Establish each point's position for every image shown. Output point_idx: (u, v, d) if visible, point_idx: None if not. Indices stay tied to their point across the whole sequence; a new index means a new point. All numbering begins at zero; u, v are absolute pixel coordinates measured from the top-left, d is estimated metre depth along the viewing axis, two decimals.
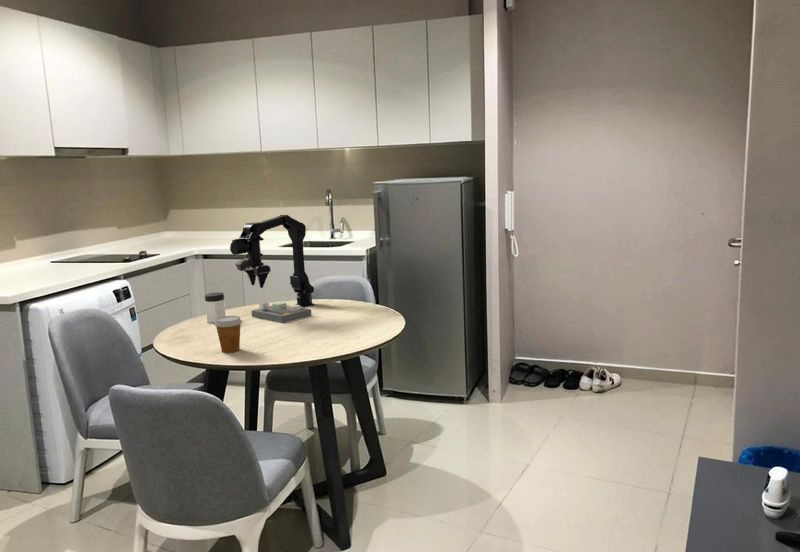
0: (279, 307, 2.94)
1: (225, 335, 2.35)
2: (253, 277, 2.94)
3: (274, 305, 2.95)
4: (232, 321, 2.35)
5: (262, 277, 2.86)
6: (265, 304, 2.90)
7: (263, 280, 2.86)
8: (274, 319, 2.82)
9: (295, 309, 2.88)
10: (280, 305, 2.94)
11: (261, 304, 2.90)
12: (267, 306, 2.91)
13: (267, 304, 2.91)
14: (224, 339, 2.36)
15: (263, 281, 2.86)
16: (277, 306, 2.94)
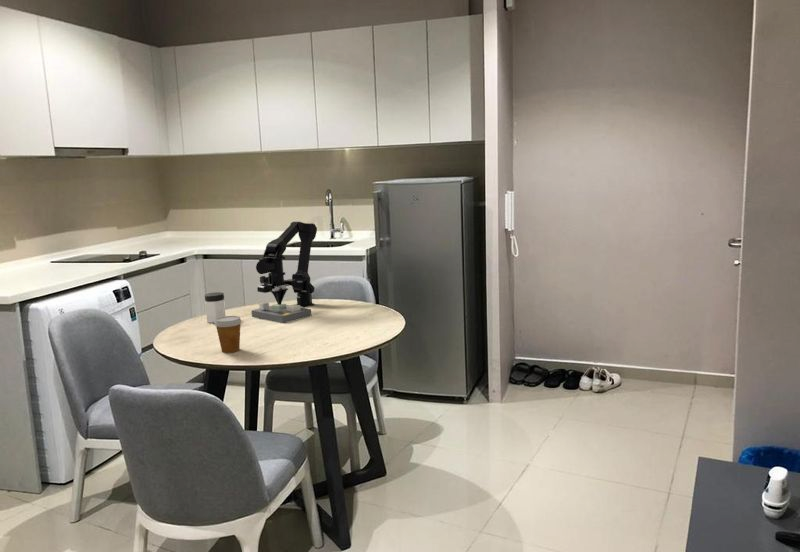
0: (279, 308, 2.94)
1: (225, 335, 2.35)
2: None
3: (274, 306, 2.95)
4: (232, 321, 2.35)
5: (276, 294, 2.94)
6: (265, 304, 2.90)
7: (277, 298, 2.94)
8: (274, 319, 2.82)
9: (295, 309, 2.88)
10: (280, 306, 2.94)
11: (261, 304, 2.90)
12: (267, 306, 2.91)
13: (267, 304, 2.91)
14: (224, 339, 2.36)
15: (277, 299, 2.95)
16: (277, 307, 2.94)
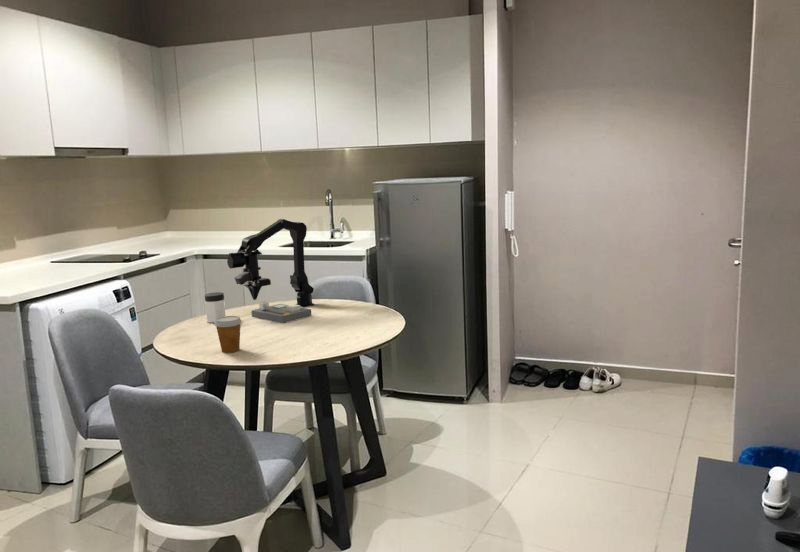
0: None
1: (225, 335, 2.35)
2: None
3: None
4: (232, 321, 2.35)
5: (256, 289, 2.94)
6: (265, 304, 2.90)
7: (257, 292, 2.95)
8: (274, 319, 2.82)
9: (295, 309, 2.88)
10: (280, 308, 2.94)
11: (261, 304, 2.90)
12: (267, 306, 2.91)
13: (267, 304, 2.91)
14: (224, 339, 2.36)
15: (257, 293, 2.95)
16: None
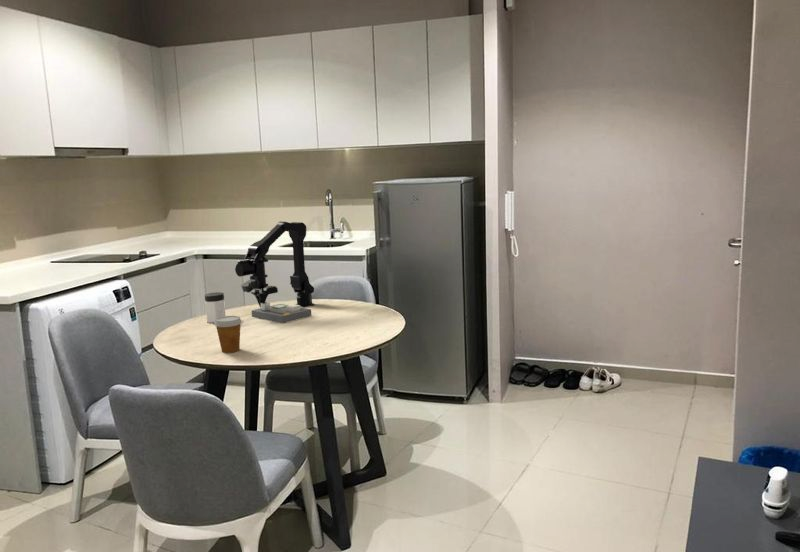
0: None
1: (225, 335, 2.35)
2: None
3: None
4: (232, 321, 2.35)
5: (263, 297, 2.92)
6: (266, 304, 2.89)
7: (264, 300, 2.92)
8: (274, 319, 2.82)
9: (295, 309, 2.88)
10: (280, 308, 2.94)
11: (262, 304, 2.90)
12: (268, 306, 2.90)
13: (268, 304, 2.90)
14: (224, 339, 2.36)
15: (263, 301, 2.92)
16: None
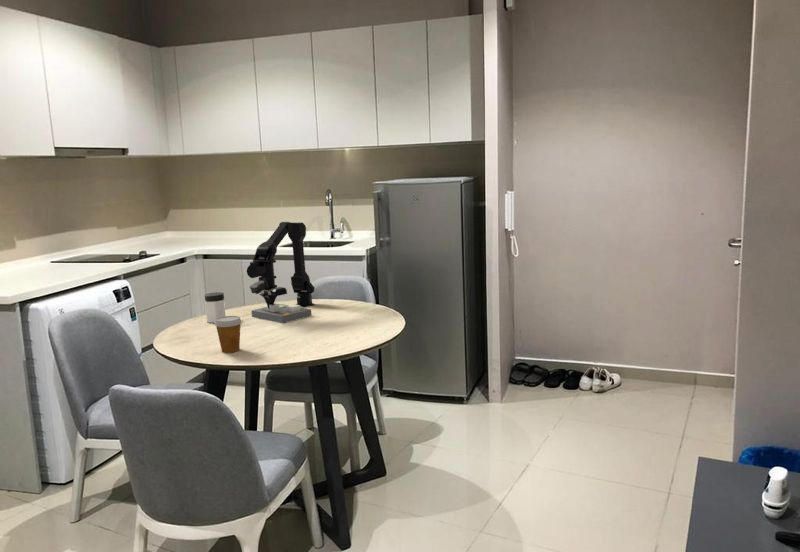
0: None
1: (225, 335, 2.35)
2: None
3: None
4: (232, 321, 2.35)
5: (271, 298, 2.87)
6: (275, 306, 2.85)
7: (272, 301, 2.88)
8: (274, 319, 2.82)
9: (295, 309, 2.88)
10: (280, 308, 2.94)
11: (271, 306, 2.85)
12: (277, 308, 2.86)
13: (277, 306, 2.86)
14: (224, 339, 2.36)
15: (272, 302, 2.88)
16: None
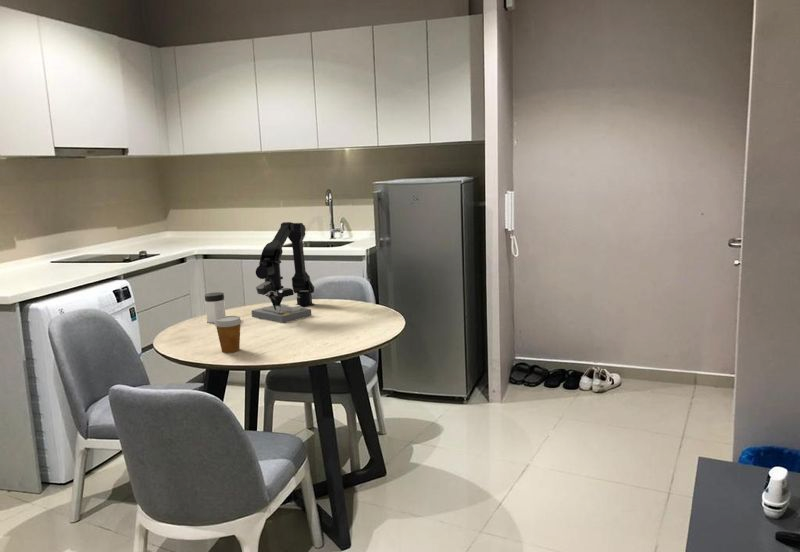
0: None
1: (225, 335, 2.35)
2: None
3: None
4: (232, 321, 2.35)
5: (278, 299, 2.84)
6: (282, 307, 2.82)
7: (279, 302, 2.85)
8: (274, 319, 2.82)
9: (295, 309, 2.88)
10: None
11: (278, 307, 2.82)
12: (284, 309, 2.83)
13: (284, 307, 2.83)
14: (224, 339, 2.36)
15: (279, 303, 2.85)
16: None
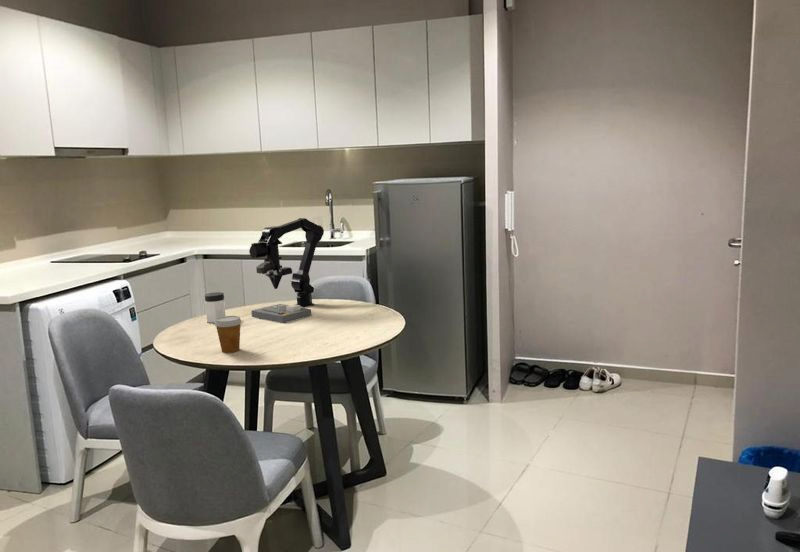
0: None
1: (225, 335, 2.35)
2: None
3: None
4: (232, 321, 2.35)
5: (277, 278, 2.99)
6: (282, 307, 2.82)
7: (278, 281, 2.99)
8: (274, 319, 2.82)
9: (295, 309, 2.88)
10: None
11: (278, 307, 2.82)
12: (284, 309, 2.83)
13: (284, 307, 2.83)
14: (224, 339, 2.36)
15: (278, 282, 2.99)
16: None
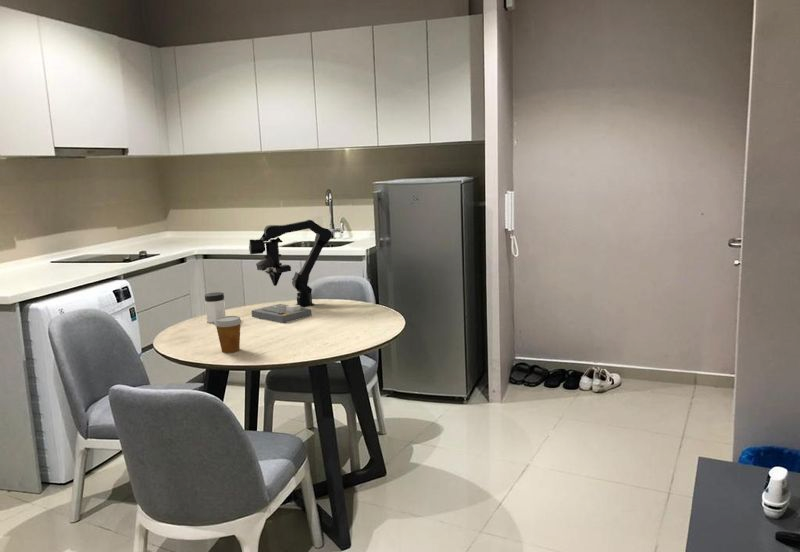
0: None
1: (225, 335, 2.35)
2: None
3: None
4: (232, 321, 2.35)
5: (276, 275, 3.05)
6: (282, 307, 2.82)
7: (277, 278, 3.05)
8: (274, 319, 2.82)
9: (295, 309, 2.88)
10: None
11: (278, 307, 2.82)
12: (284, 309, 2.83)
13: (284, 307, 2.83)
14: (224, 339, 2.36)
15: (277, 279, 3.05)
16: None
